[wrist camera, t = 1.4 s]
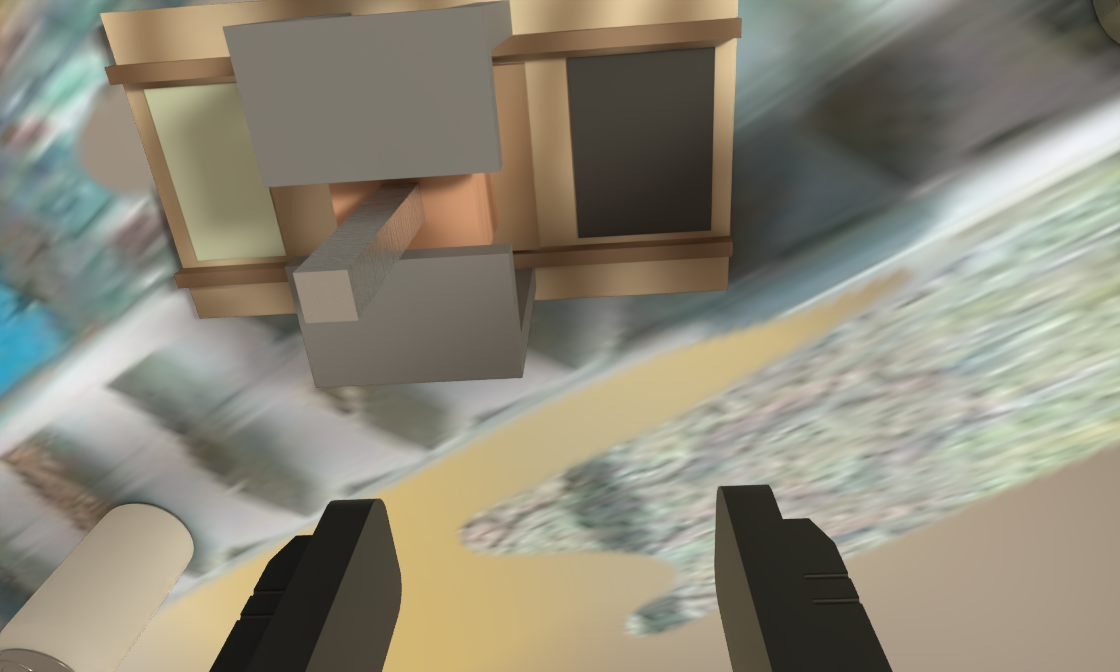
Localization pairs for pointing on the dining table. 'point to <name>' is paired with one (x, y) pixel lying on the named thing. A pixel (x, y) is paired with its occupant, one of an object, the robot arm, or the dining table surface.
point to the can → (99, 594)
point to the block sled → (424, 215)
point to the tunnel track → (435, 158)
